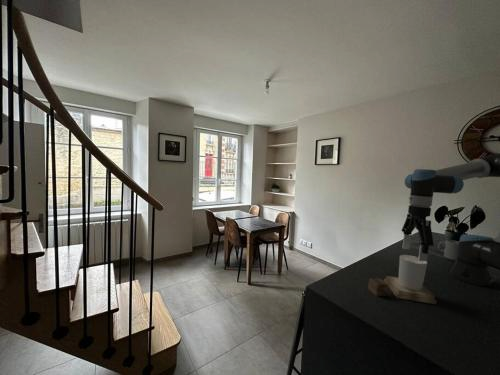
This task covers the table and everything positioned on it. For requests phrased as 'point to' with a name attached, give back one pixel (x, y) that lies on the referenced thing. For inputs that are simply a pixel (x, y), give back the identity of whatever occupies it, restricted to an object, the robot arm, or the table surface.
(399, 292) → the stand
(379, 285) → the walnut block
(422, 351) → the table surface
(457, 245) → the mug
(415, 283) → the candle holder
